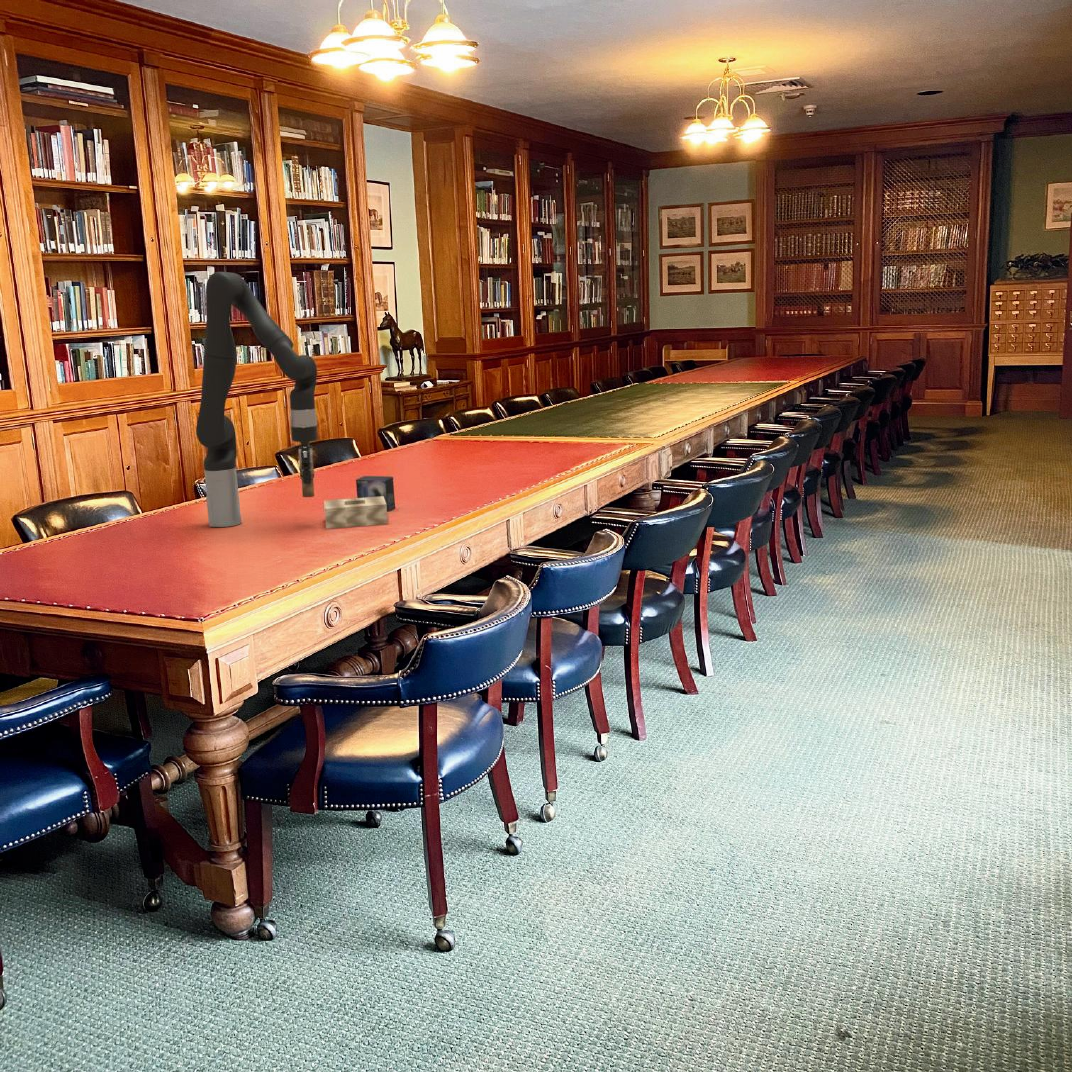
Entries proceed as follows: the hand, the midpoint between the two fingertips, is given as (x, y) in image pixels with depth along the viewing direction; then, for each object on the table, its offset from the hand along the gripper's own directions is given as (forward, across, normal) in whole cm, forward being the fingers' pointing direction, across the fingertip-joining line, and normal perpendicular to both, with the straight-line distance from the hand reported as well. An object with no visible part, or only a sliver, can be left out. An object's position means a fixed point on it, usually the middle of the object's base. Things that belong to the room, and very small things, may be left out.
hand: (307, 481), depth 314 cm
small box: (+13, -17, +21) cm, 30 cm away
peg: (+4, 0, 0) cm, 4 cm away
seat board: (+13, 0, +14) cm, 19 cm away
